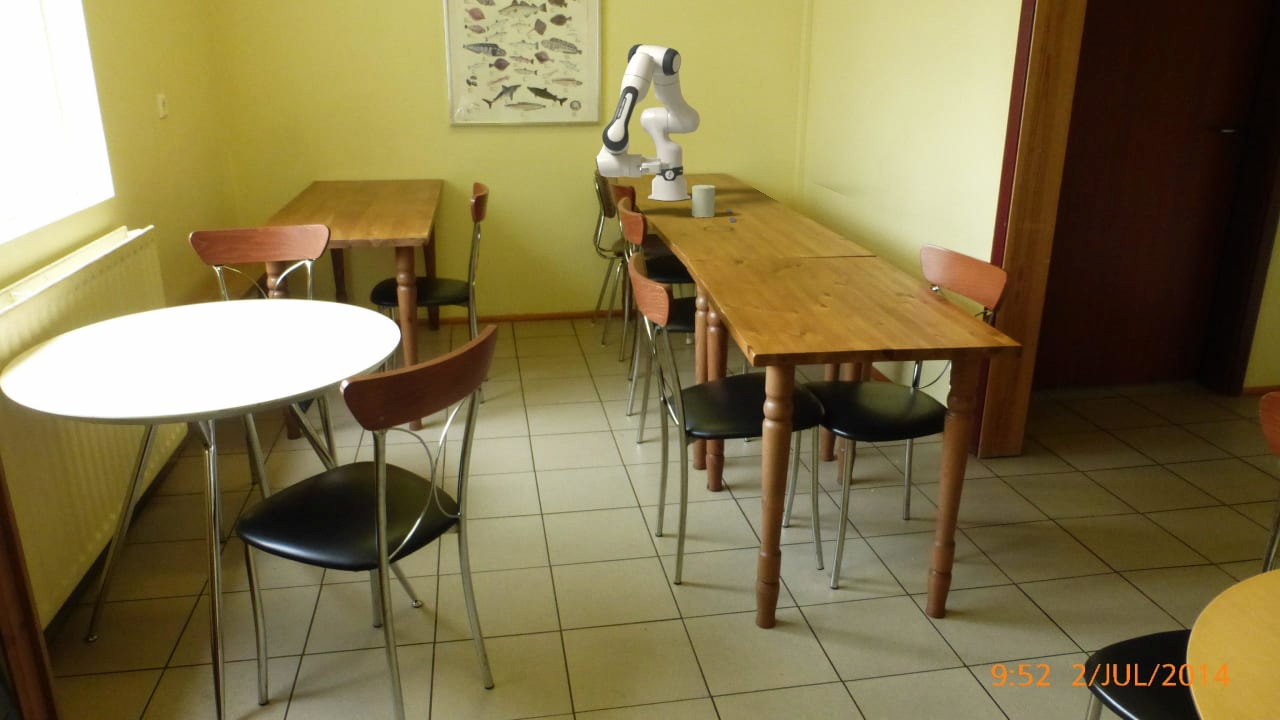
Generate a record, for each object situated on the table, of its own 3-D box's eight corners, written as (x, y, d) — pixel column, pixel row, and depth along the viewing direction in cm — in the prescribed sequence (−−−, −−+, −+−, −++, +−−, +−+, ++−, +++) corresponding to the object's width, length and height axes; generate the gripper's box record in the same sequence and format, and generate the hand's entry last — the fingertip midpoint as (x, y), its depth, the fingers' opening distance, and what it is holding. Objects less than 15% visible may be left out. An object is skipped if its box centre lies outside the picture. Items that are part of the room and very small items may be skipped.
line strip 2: (729, 218, 364) (729, 217, 363) (734, 218, 363) (734, 217, 363) (731, 222, 356) (731, 221, 356) (735, 222, 356) (735, 221, 356)
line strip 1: (726, 209, 383) (726, 208, 383) (730, 209, 383) (730, 208, 383) (727, 212, 376) (727, 212, 376) (731, 212, 376) (731, 212, 376)
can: (706, 218, 364) (707, 187, 360) (686, 216, 369) (687, 185, 365) (719, 215, 371) (719, 185, 367) (699, 213, 376) (700, 183, 372)
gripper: (636, 160, 353) (673, 160, 353) (638, 154, 373) (672, 154, 372) (636, 177, 355) (673, 177, 355) (638, 170, 375) (672, 170, 374)
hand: (672, 165), depth 364 cm, fingers closed
